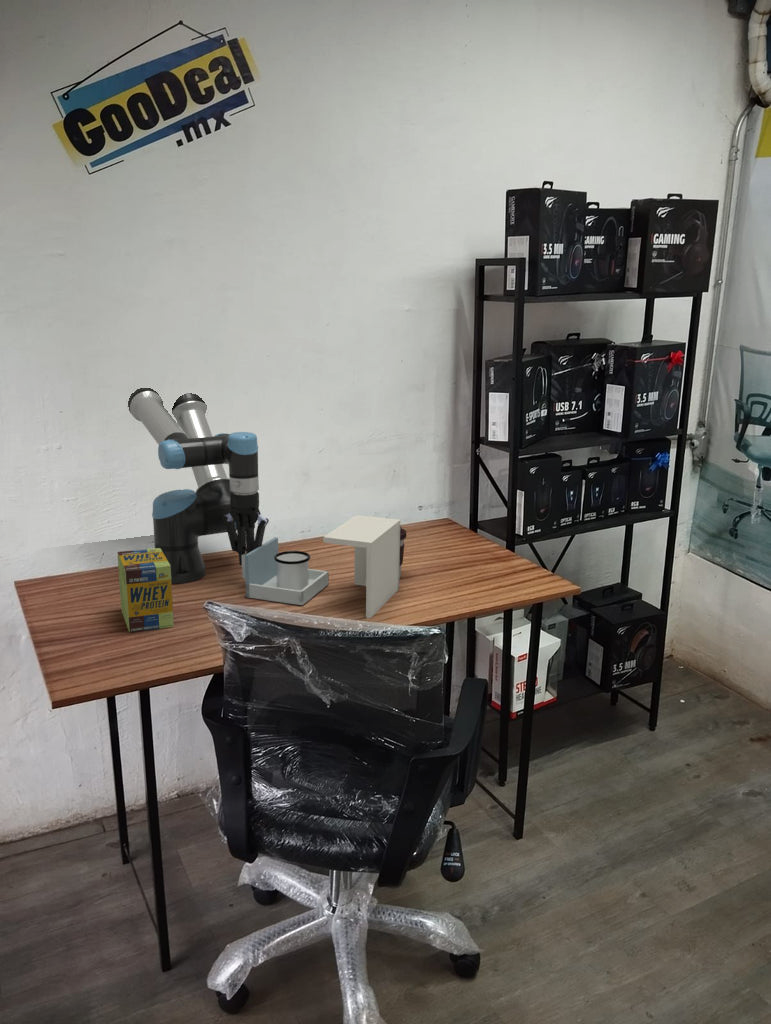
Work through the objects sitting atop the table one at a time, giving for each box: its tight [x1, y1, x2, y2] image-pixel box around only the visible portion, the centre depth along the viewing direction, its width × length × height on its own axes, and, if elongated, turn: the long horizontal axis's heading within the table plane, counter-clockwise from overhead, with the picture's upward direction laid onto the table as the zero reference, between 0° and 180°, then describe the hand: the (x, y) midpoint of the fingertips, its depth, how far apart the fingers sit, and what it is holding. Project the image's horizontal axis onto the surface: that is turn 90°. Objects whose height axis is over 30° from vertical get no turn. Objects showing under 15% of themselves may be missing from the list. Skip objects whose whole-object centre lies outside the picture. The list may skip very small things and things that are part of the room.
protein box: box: [116, 547, 175, 634], centre depth 203 cm, size 10×15×16 cm
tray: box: [245, 537, 330, 606], centre depth 223 cm, size 16×17×11 cm
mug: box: [274, 550, 312, 591], centre depth 223 cm, size 12×10×9 cm
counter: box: [323, 514, 401, 619], centre depth 217 cm, size 12×22×19 cm, turn 161°
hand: (247, 576), depth 228 cm, fingers closed
